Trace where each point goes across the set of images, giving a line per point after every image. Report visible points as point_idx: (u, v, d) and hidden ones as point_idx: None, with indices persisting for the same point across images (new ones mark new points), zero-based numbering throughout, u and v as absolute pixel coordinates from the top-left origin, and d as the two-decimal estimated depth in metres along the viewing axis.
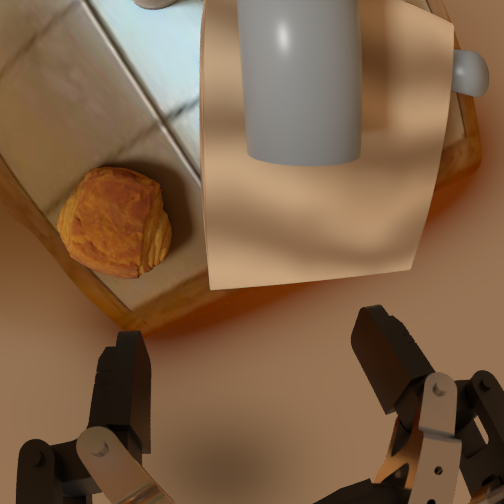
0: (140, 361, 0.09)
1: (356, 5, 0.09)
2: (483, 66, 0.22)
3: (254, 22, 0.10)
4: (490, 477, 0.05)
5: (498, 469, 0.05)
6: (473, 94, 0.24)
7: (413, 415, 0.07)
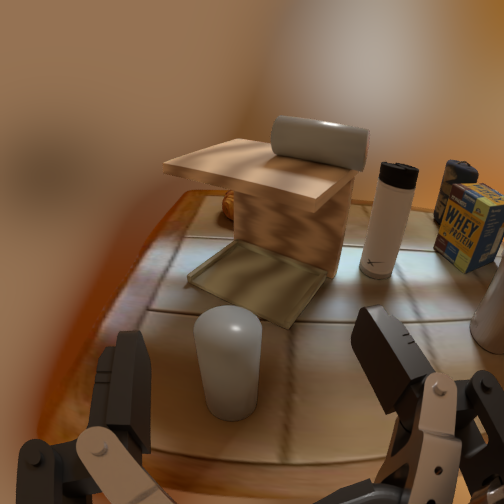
0: (140, 361, 0.09)
1: (327, 132, 0.34)
2: (232, 347, 0.23)
3: None
4: (490, 477, 0.05)
5: (498, 469, 0.05)
6: (204, 314, 0.26)
7: (414, 414, 0.07)
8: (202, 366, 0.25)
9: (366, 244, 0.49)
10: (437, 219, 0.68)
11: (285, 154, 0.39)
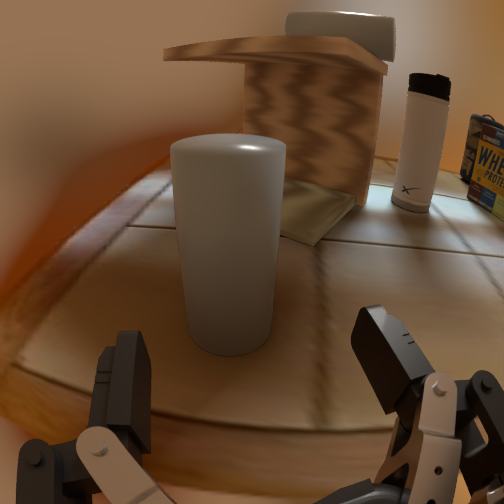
0: (140, 361, 0.09)
1: (349, 19, 0.24)
2: (234, 152, 0.13)
3: None
4: (490, 477, 0.05)
5: (498, 469, 0.05)
6: (192, 137, 0.16)
7: (414, 415, 0.07)
8: (179, 214, 0.14)
9: (399, 168, 0.38)
10: (465, 176, 0.57)
11: None
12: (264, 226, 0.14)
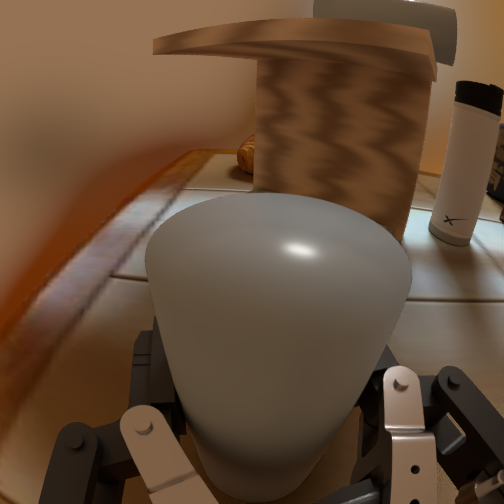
0: None
1: (399, 12, 0.16)
2: (317, 304, 0.05)
3: None
4: (474, 468, 0.06)
5: (482, 462, 0.05)
6: (196, 207, 0.08)
7: (374, 409, 0.08)
8: (180, 389, 0.07)
9: (442, 194, 0.31)
10: (492, 191, 0.49)
11: None
12: (348, 410, 0.06)
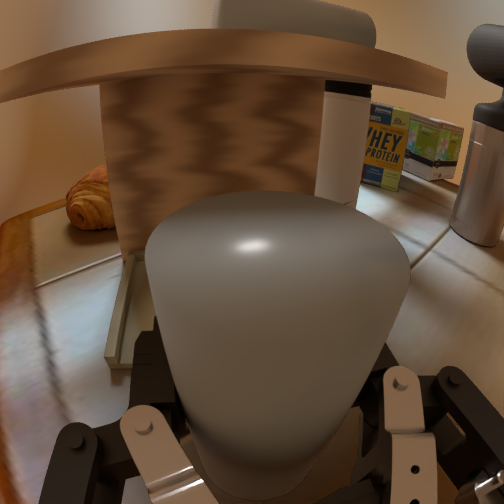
0: None
1: (322, 7, 0.16)
2: (315, 300, 0.05)
3: None
4: (474, 468, 0.06)
5: (482, 462, 0.05)
6: (196, 205, 0.08)
7: (374, 409, 0.08)
8: (179, 386, 0.07)
9: (324, 185, 0.36)
10: None
11: None
12: (347, 407, 0.07)
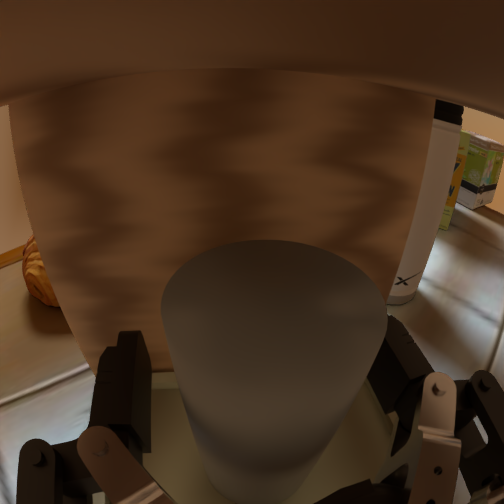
0: (141, 361, 0.09)
1: None
2: (302, 356, 0.06)
3: None
4: (490, 477, 0.05)
5: (498, 469, 0.05)
6: (202, 257, 0.09)
7: (413, 414, 0.07)
8: (190, 413, 0.08)
9: None
10: None
11: None
12: (333, 431, 0.07)
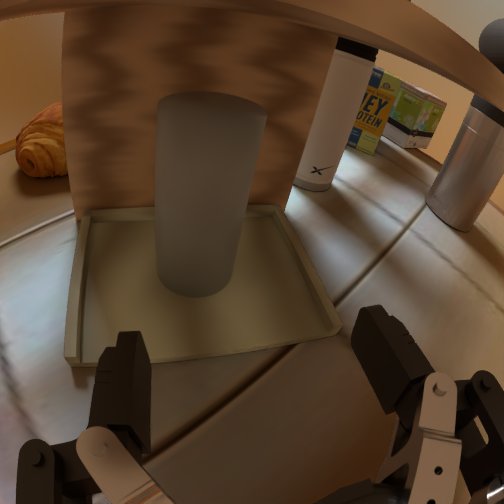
0: (140, 361, 0.09)
1: None
2: (221, 118, 0.13)
3: None
4: (490, 477, 0.05)
5: (498, 469, 0.05)
6: (176, 94, 0.15)
7: (413, 415, 0.07)
8: (161, 169, 0.15)
9: (307, 145, 0.32)
10: None
11: None
12: (240, 185, 0.15)
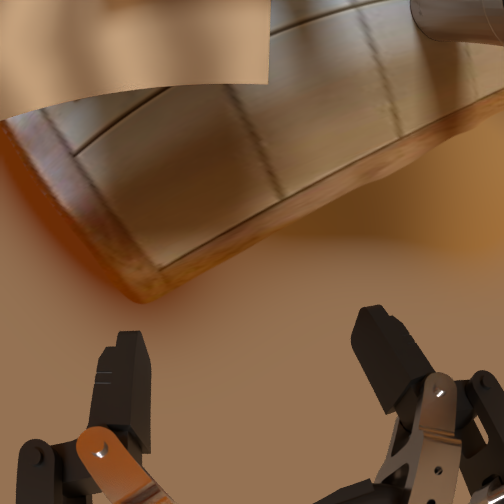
0: (140, 361, 0.09)
1: None
2: None
3: None
4: (490, 477, 0.05)
5: (498, 469, 0.05)
6: None
7: (414, 415, 0.07)
8: None
9: None
10: None
11: None
12: None
